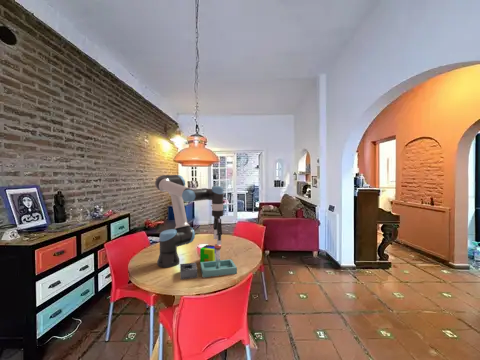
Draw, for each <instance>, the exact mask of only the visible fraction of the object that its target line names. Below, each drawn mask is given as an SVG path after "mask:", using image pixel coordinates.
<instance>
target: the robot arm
mask: <svg viewBox="0 0 480 360" xmlns="http://www.w3.org/2000/svg"><path fill="white" fill-rule="evenodd" d="M154 184H155V187H156V189H157V190H159V191H160V192H163V193H165V192H167V193H168V195H169V196H170V199H171V205H172V209H173V211H172V212H173V214H174V215H173V216H174V222H175V227H174V228H169V229H165V230H162V231H160V233H159V239H158V240H159V253H158V254H159V255H158V258H157V261H156V262H157V264H156V266H157V267H159V268H172V267H175V266H177V265H179V264H180V258H179V255H178V249H177V248H178V247H181V246H184V245H189V244H191V243H193V242H194V239H195V236H196V232H195V229H194V228H193V227H191V224H189V223H188V219H187V214H186V208H185V202H186V203H187V202H188V203H191V202H198V201H211V205H210V206H211V216H212V217H213V226H212V228H213V240H216V244H217V245H221V246H222V235H223V227H222V226H223V225H222V218H221V217H223V216H224V187H223V185H219V186H218V185H216V186H215V185H213V186H212V187H211V188H206V187H204V188H198V189H197V188H196V189H195V188H190V187H187V186H186V181H185V179H184V177H183V176H182V175H180V174H179V175H178V174H162V175H160V176H158V177H156V179H155V182H154Z"/></svg>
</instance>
